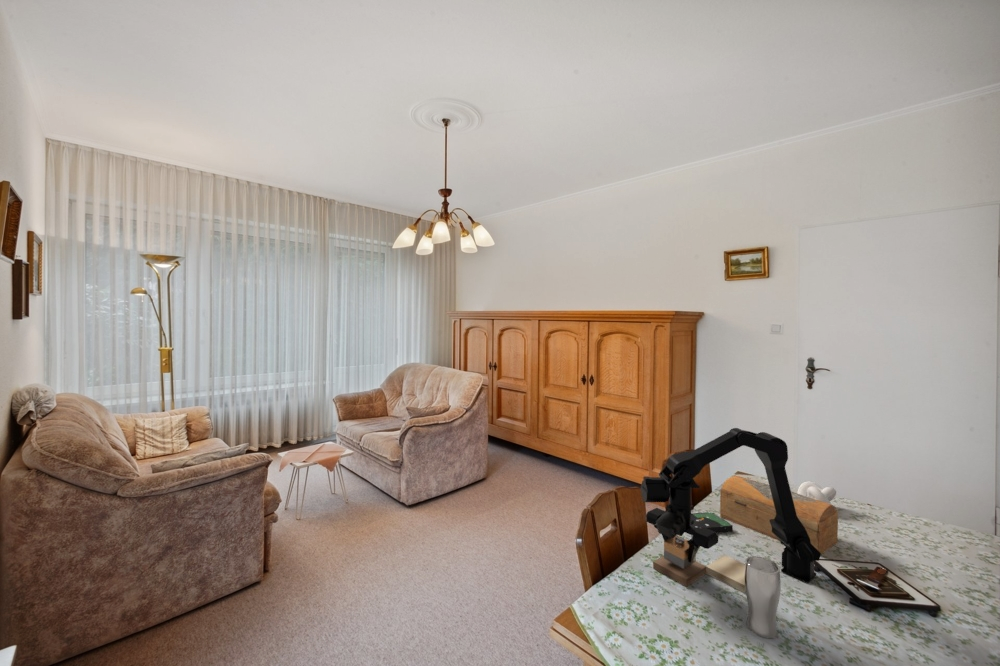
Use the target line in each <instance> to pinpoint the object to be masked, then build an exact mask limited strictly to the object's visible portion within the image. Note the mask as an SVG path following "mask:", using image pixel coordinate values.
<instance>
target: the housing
mask: <svg viewBox="0 0 1000 666" xmlns="http://www.w3.org/2000/svg"><path fill="white" fill-rule="evenodd" d="M688 540H689V539H686V538H684V537H682V536H679V535H676V536H675V537H674V538H669V539H667V540H665V541H664V540H663V556H664V559H666V560H668V561H670V562H672V563H673V564H675V565H677V566H679V567H681V568H683V569H685V568H686V567H688V566H689V565H691V564H693V563H694V562H697V561H696V560H697V554H696V555H695V557H694V559H693V561H692V562H691V563H690V562H689V544H688V543H687V541H688Z"/></svg>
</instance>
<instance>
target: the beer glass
mask: <svg viewBox="0 0 1000 666" xmlns="http://www.w3.org/2000/svg"><path fill="white" fill-rule="evenodd" d="M744 564H745V574H744V583H745V591H746V592H745V595H746V600H747V601H746V602H747V614H746V615H747V616H746V621H745V625H746V627H747V629H748V630H749V631H750V632H752V633H753V634H754V635H755V636H758V637H760V638H763V639H767V640H769V639H771V640H772V639H776V638H777V637H778V627H777V619H776V616H777V612H778V606H779V604H780V603H779V602H780V599H781V598H780V597H781V588H782V587H781V585H782V584H781V582H782V581H781V573H780V572H781V568H780V567H779V565H778V564H777V563H775V562H774V561H772V560H770V559H768V558H765V557H761V556H757V555H751V556H747V557H746V558H745V563H744Z"/></svg>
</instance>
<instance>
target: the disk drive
mask: <svg viewBox="0 0 1000 666" xmlns="http://www.w3.org/2000/svg"><path fill="white" fill-rule="evenodd" d="M691 519H692V520H694V524H692V525H691V527H692V528H694V529H697V530H699V529H700V528H702V527H705V528H707V529H709V530H712V531H714V532H716V533H717V534H724V533H733V524H731V523H729V522H728V520H726V519H724V518H722V517H720V516H718V515H717V514H716V513H715V512H712V511H711V512H707V511H706V512H697V513H695V512H694V513H691Z"/></svg>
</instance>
